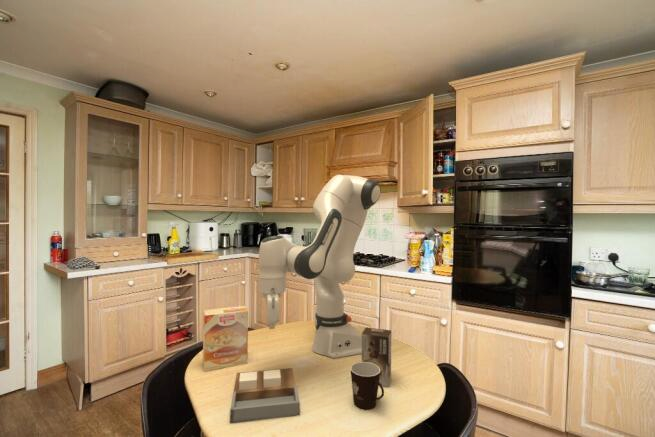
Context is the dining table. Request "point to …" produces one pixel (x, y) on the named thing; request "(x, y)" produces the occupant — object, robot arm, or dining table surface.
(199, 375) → the dining table surface
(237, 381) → the board
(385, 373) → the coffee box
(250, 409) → the tray
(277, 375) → the tile
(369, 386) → the coffee mug
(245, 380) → the tile
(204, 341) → the coffeecake box
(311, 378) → the dining table surface
